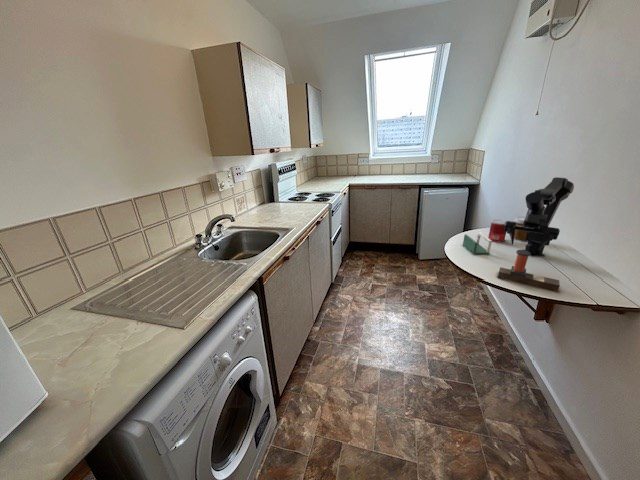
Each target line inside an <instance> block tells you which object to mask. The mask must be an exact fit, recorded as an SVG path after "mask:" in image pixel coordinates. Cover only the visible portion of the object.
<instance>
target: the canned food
mask: <svg viewBox="0 0 640 480" xmlns="http://www.w3.org/2000/svg"><path fill="white" fill-rule="evenodd" d="M506 221H507V220H504V219H492V220H491V223H490V227H489V232H488V236H487V238H489V239H490V240H492V242H495V243H502V242H504V241H505V239H506V235H507V232H505V231H504V225H505V222H506Z"/></svg>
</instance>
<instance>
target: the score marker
mask: <svg viewBox="0 0 640 480" xmlns="http://www.w3.org/2000/svg"><path fill="white" fill-rule="evenodd" d="M516 254H517V255H516V258H515V262H514V265H511V268H510V269H511V273H510V275H515V276H519V277H523V278H525V276H526V273H527V268H526V265H527V262H528V259H529V257H530V256H531V255H530V254H531V253H530V252H529V251H526V250H525V249H517V250H516Z"/></svg>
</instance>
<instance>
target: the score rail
mask: <svg viewBox="0 0 640 480" xmlns="http://www.w3.org/2000/svg"><path fill="white" fill-rule="evenodd" d="M510 273H511V268H506V267H499V270H498V274H497V279H500V280H506V281H508V282H509V281H510V282H513V283H518V284H521V285H525V286H526V285H527V286H530V287H533V288H534V287H535V288H538V289H542V290H547V291H551V292H555V293H558V292H559V289H560V287H561V285H560V283H561V282H560V280H559V279H556V278H551V277H546V276H543V275H540V274H534V273H529V272H526V276H525V278H523V277H519V276H515V275H510Z"/></svg>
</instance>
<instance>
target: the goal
mask: <svg viewBox="0 0 640 480" xmlns="http://www.w3.org/2000/svg"><path fill="white" fill-rule="evenodd" d="M481 238H482V239H484V240H485V241H486V242H487V246H486V248H484V246H482V245H481V244H480V240H481ZM492 243H493V241H492V240H490V239H489V238H488V236H486V235H485V234H483V233H482V232H480V231H479V232H477V235H476V239H473V238H472V237H471V236H469V235H468V234H465V233H464V236H463V242H462V246H463V247H464V248H465V249H466V250H468V251H469V252H470V253H471V254H472V255H490V253H491V247H492Z"/></svg>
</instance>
